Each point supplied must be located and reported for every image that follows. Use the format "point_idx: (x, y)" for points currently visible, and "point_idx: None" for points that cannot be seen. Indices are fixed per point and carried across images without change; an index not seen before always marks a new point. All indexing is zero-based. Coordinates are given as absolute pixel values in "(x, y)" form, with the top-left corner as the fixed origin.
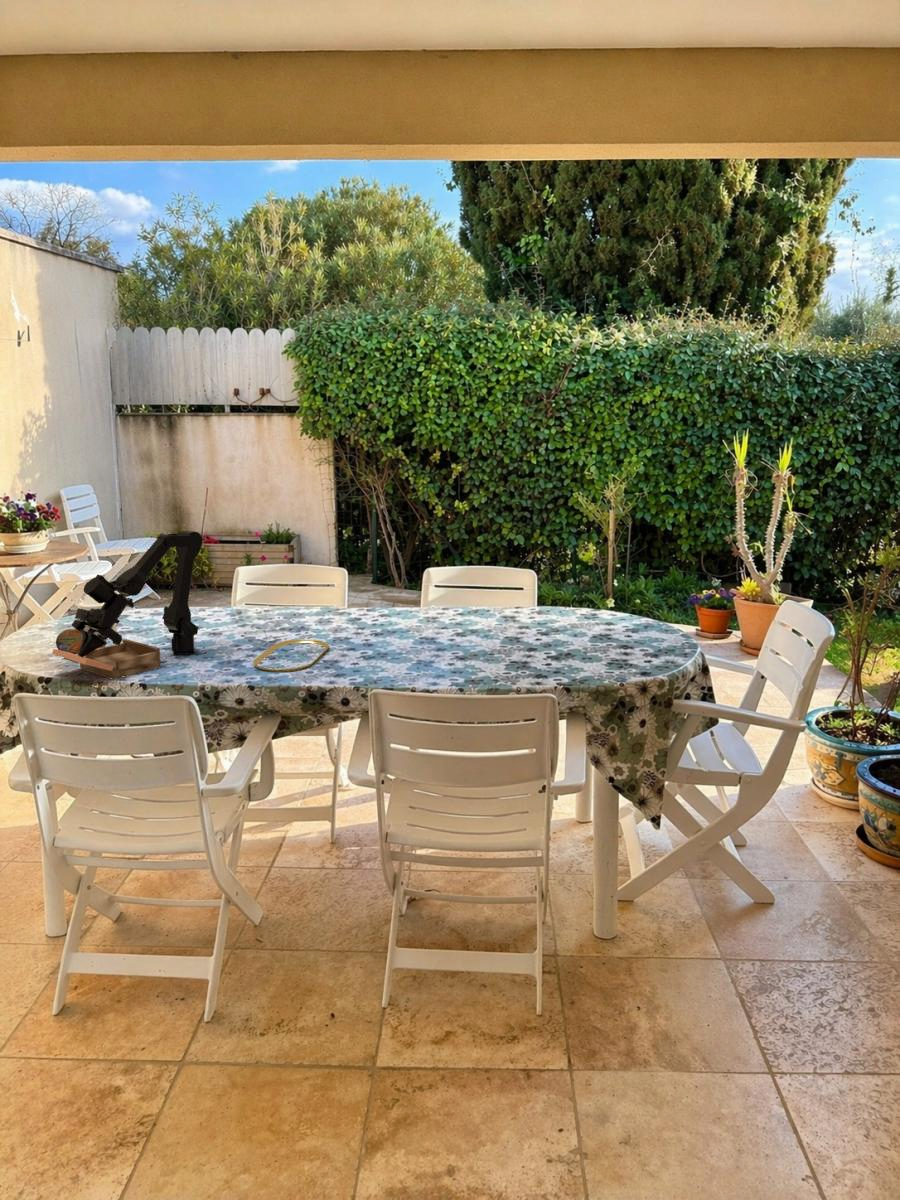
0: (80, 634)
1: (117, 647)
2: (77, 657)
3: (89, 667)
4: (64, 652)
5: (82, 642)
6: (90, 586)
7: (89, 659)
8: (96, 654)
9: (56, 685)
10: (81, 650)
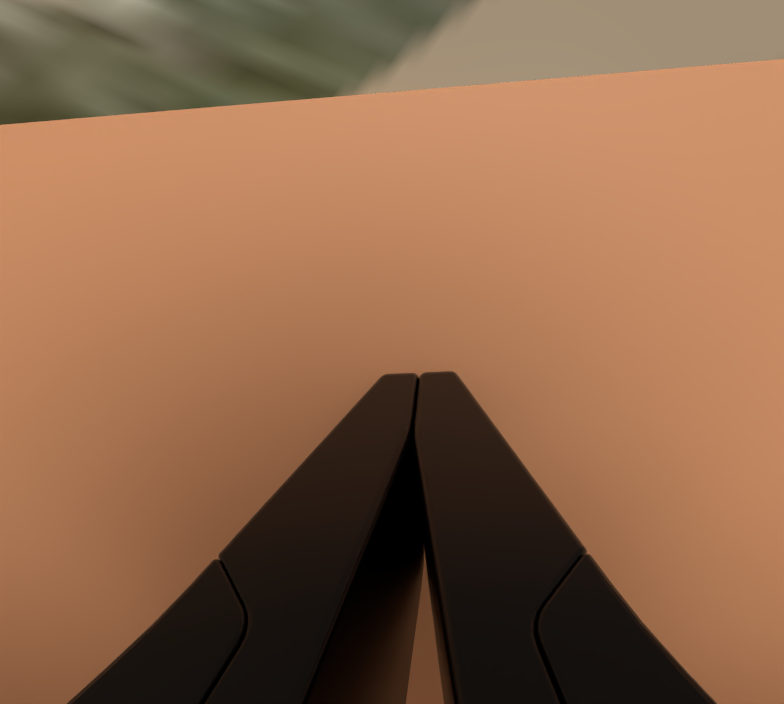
0: None
1: None
2: (36, 125)
3: None
4: (683, 69)
5: (594, 608)
6: None
7: (49, 425)
8: None
9: (371, 58)
10: (411, 436)
